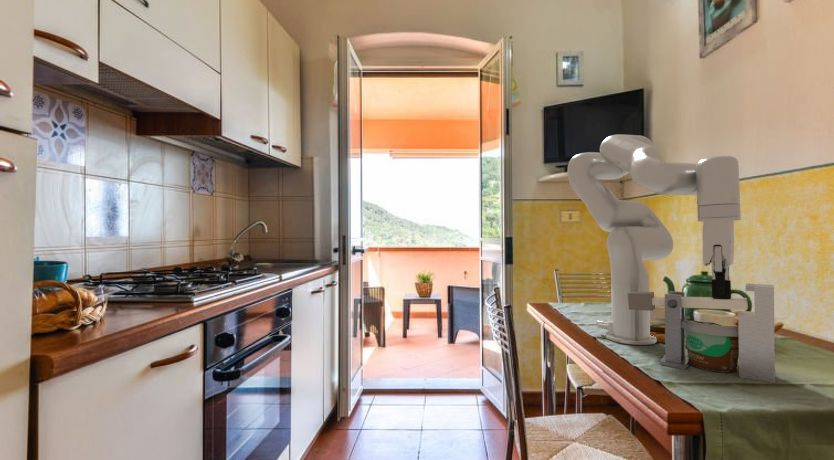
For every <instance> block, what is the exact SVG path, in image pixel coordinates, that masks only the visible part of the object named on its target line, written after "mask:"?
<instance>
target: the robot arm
mask: <svg viewBox="0 0 834 460" xmlns="http://www.w3.org/2000/svg"><path fill="white" fill-rule="evenodd" d="M659 153H660V152H659V150H658V149H657V147H655V146H654V145H653V143H652V141H651V140H650V138H648V137H646V136H644V135H636V134H620V133H619V134H613V135H612V134H611V135H609V136H607V137H606V138H605V139H603V141H601V143H600V146H599V152H594V151H590V152H589V151H588V152H581V153H578V154H575V155H574V156H572V158H570V160H569V161H568V165H567V178H568V181H569V185H570V187H571V189H572V190H573V191H574V194H576V195H577V196H578V198H579V199H580V200H581V201H582V203H583V204H584V205H585V207H586V209H587V210H588V212H589V213H590V215H591V217H592V218H593V219H594V221H595V222H596V224H597V225H598V227H599V228H600V229H601V230H602V231H604V232H608V233H609V234H608V236H607V239H606V248H607V249H606V250H607V254H608V258H609V265H610V286H611V287H610V288H611V289H610V292H611V294H610V296H611V297H610V299H611V301H610V302H611V303H610V304H611V308H610V309H611V320H609V321H604V320H598V319H597V320H596V323H595V325H596V327H597V328H598V329H604V330H605V329H606V330H607V331H606V332H605V338H606V339H608V340H609V341H613V342H615V343H619V344H626V345H635V346H647V345H649V346H650V345H654V344H656V343H657V342H658V341H657V337H656V336H655V335H653V336H651V335H652V334H651V313H650V311H647V310H629V304H628V293H629V292H651V290H650V288H651V287H650V276H649V275H650V274H649V271H648V269H647V267H646V266H645V264H644V262H643V261H656V260H662V259H666V258H667V257H669V256H670V255H671V254H672V252H673V250H674V240H673V236H672V234H671V232H670V231H669V230H668V228H667V227H666V226H665V224H663V222H662V221H661V219H660V218H659V217H658V215H656V214H655V211H653V210H652V208H650V206H648V205H647V204H646V203H643V202H642V201H639V200H624V199H619V198H618V197H616V195H615V194H614V193H613V192H612V190H611V188H610V187H608V186H607V184H604V183H603V182H601V181H600V180H602V181H603V180H604V181H605V180H607V181H609V180H611V181H612V180H619V179H621V178H623V177H625V176H626V175H628V174H630V177H631V179H632V181H633V182H634V183H635V184H637V185H638V186H640V187H642V188H643V189H645V190H648V191H649V192H651V193H655V194H657V195H662V196H663V195H664V196H696V207H697V211H696V212H697V222H701V223H702V265H703V266H704V267H708V266H710V265H711V274H712V275H711V276H712V277H711V278H712V279H711V297H712V298H713V299H729V300H730V299H731V298H732V282H731V280H730V266H732V265H733V264H734V258H735V257H734V256H735V223H734V222H735V221H741V219H742V218H741V217H742V216H741V194H740V191H741V190H740V171H739V170H740V169H739V167H740V166H739V160H738V159H737V158H736V157H734V156H730V155H718V156H712V157H707V158H706V157H705V158H702V159H700V160H699V161H698V162H697V163H694V162H693V163H691V162H668V161H664V160H660V154H659ZM650 334H651V335H650ZM654 336H655V337H654Z"/></svg>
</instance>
